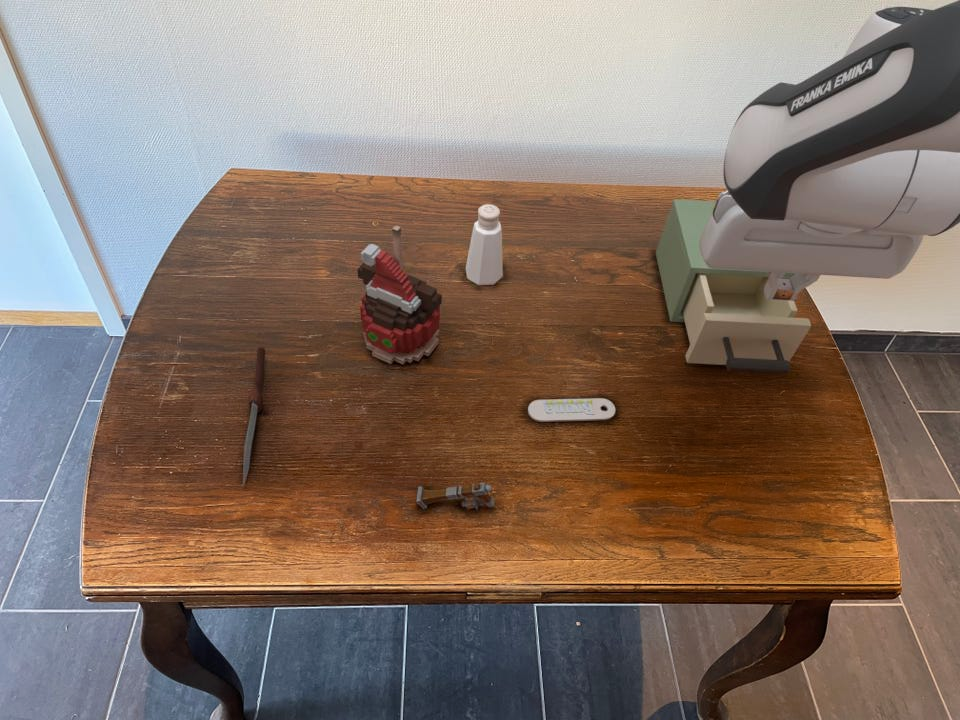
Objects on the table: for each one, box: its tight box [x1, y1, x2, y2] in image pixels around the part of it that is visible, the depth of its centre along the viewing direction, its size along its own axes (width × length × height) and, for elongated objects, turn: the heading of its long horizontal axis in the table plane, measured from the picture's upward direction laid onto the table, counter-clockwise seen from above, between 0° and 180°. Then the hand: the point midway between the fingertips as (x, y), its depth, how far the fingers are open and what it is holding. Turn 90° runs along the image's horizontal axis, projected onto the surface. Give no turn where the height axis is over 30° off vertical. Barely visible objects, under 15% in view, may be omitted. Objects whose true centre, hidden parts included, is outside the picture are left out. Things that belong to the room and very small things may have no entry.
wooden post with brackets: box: [416, 482, 496, 511], centre depth 72 cm, size 2×8×4 cm, turn 86°
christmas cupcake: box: [356, 225, 443, 365], centre depth 81 cm, size 11×9×18 cm
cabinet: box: [655, 198, 796, 323], centre depth 94 cm, size 14×14×10 cm
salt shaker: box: [465, 203, 504, 286], centre depth 93 cm, size 5×5×11 cm
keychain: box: [527, 397, 616, 423], centre depth 82 cm, size 10×1×3 cm
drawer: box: [682, 273, 812, 374], centre depth 87 cm, size 17×13×8 cm
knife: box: [242, 346, 266, 488], centre depth 78 cm, size 18×2×3 cm, turn 5°
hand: (777, 296), depth 75 cm, fingers closed
